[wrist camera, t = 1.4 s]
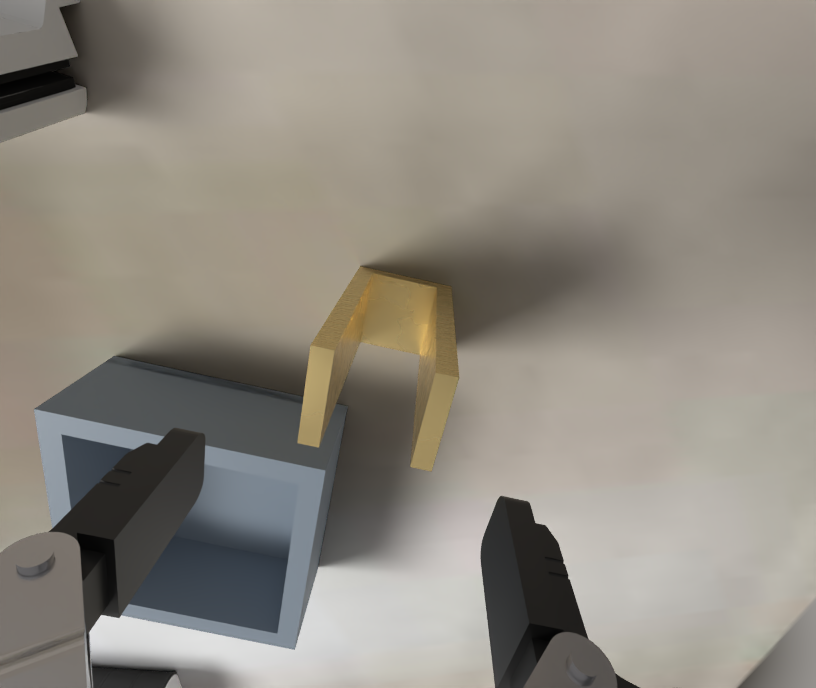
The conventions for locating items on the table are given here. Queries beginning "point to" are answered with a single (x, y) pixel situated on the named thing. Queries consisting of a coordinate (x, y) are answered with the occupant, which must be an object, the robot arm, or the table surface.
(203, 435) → the robot arm
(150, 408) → the box
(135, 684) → the laminator
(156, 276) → the table surface
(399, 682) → the table surface
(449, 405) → the bracket
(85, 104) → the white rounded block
